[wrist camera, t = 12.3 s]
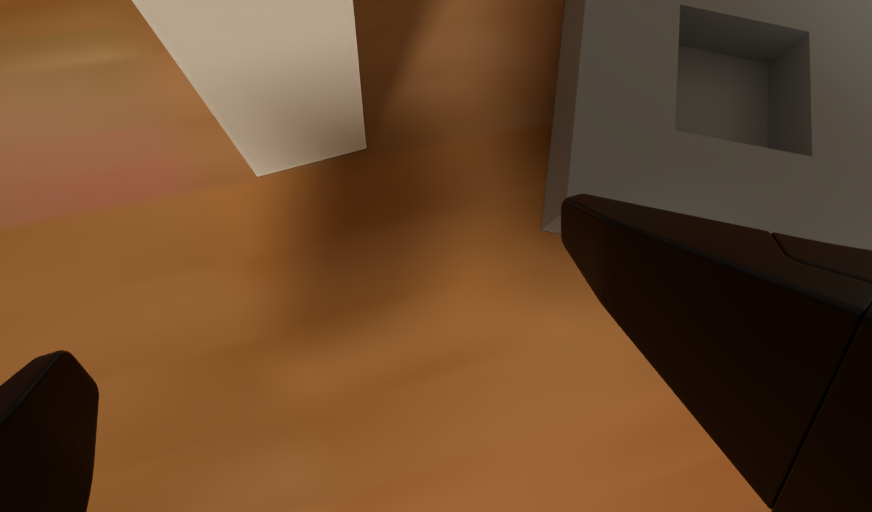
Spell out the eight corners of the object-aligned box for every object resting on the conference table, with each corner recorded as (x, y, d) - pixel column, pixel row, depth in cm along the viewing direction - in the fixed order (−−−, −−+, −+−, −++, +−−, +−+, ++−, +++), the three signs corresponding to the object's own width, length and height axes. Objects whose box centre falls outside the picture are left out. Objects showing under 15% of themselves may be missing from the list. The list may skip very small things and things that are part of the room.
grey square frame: (843, 282, 19) (912, 271, 16) (541, 229, 18) (565, 210, 15) (833, 15, 21) (891, -29, 19) (569, -42, 20) (594, -95, 18)
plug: (366, 148, 18) (337, -165, 7) (257, 176, 17) (45, -122, 6) (336, 54, 18) (268, -363, 8) (230, 78, 18) (-3, -341, 7)
